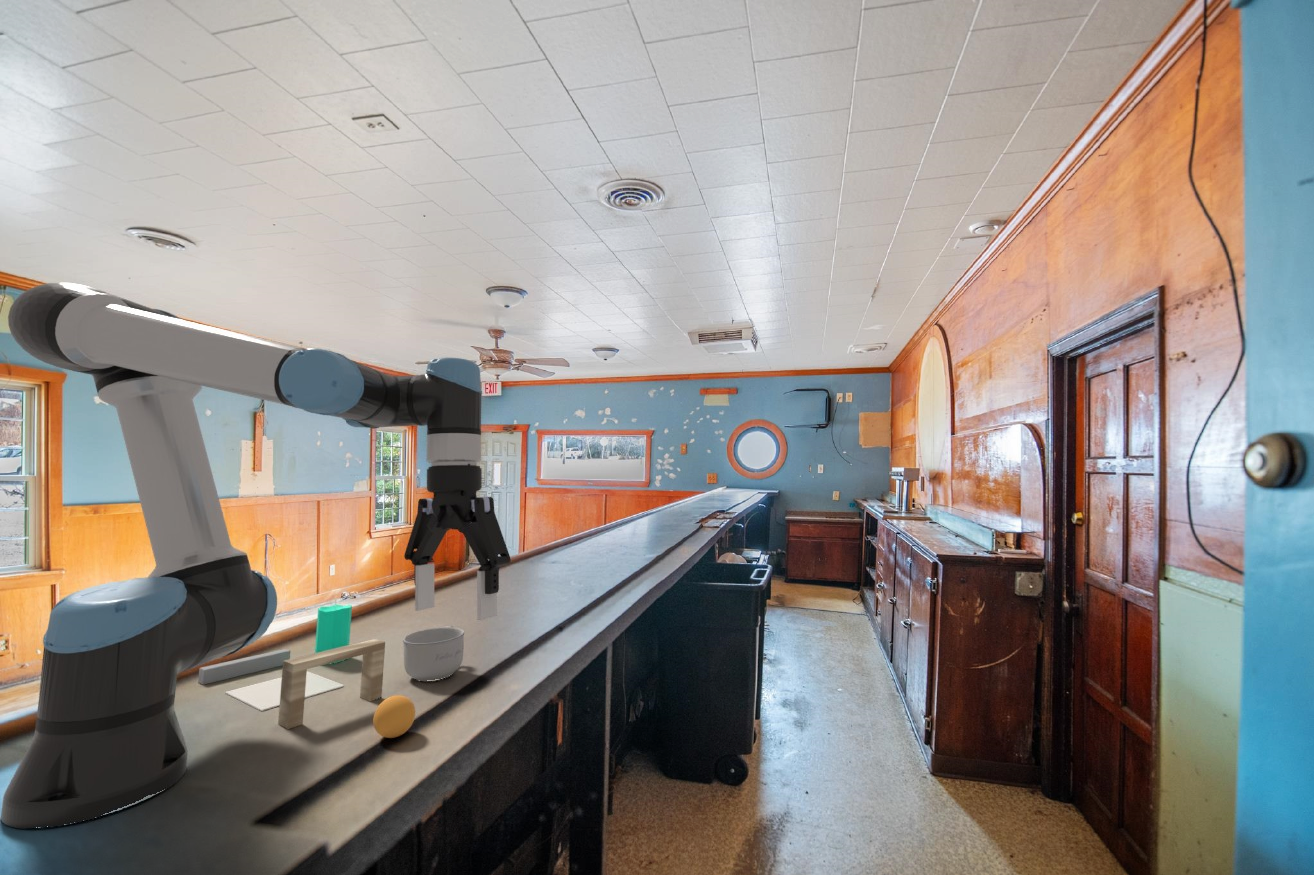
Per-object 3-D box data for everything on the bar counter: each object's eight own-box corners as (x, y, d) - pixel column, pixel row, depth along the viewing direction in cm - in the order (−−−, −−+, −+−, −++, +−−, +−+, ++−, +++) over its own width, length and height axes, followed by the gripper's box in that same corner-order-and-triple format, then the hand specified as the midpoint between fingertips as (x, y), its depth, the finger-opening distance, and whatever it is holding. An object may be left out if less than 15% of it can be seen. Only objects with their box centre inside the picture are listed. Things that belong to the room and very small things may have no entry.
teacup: (441, 689, 97) (443, 643, 98) (387, 684, 99) (390, 638, 100) (481, 665, 111) (483, 624, 111) (433, 660, 113) (435, 620, 113)
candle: (354, 658, 112) (358, 599, 113) (323, 666, 107) (328, 604, 108) (338, 653, 116) (342, 595, 117) (308, 660, 110) (312, 600, 112)
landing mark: (261, 711, 86) (261, 710, 86) (225, 693, 93) (225, 692, 93) (344, 686, 97) (344, 685, 97) (306, 671, 104) (306, 670, 104)
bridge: (381, 697, 93) (385, 642, 94) (288, 729, 80) (293, 664, 81) (371, 693, 94) (374, 639, 95) (278, 724, 82) (283, 660, 83)
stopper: (202, 684, 96) (204, 670, 97) (198, 682, 98) (199, 667, 98) (289, 663, 108) (290, 650, 109) (284, 661, 109) (285, 648, 110)
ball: (386, 748, 75) (389, 707, 76) (363, 738, 78) (366, 698, 79) (422, 734, 80) (424, 695, 80) (399, 724, 83) (401, 687, 83)
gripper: (535, 461, 77) (537, 615, 75) (424, 468, 90) (423, 600, 88) (493, 459, 70) (494, 629, 69) (380, 468, 83) (378, 610, 82)
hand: (454, 613), depth 78 cm, fingers open, 13 cm apart
